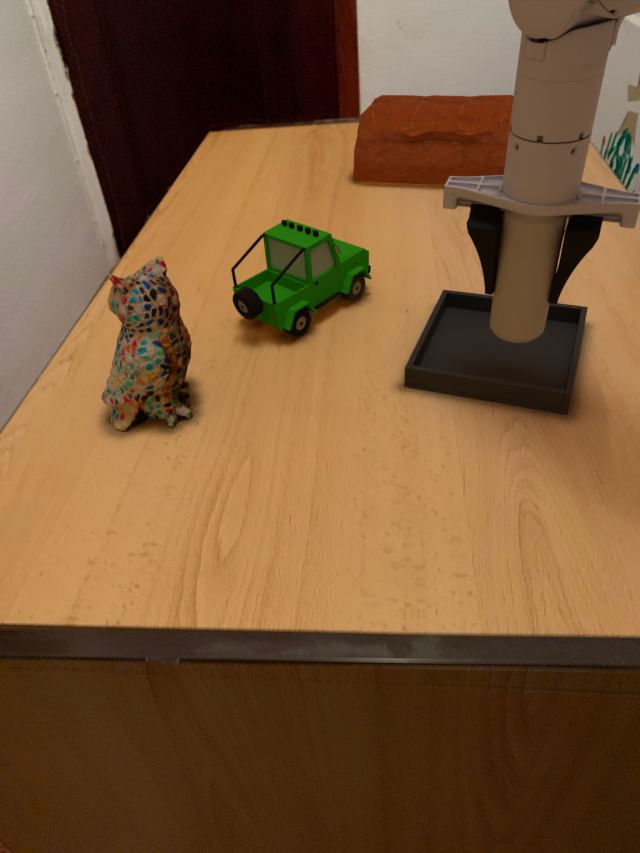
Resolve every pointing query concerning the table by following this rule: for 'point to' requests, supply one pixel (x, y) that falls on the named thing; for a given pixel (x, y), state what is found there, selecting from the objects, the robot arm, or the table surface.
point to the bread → (432, 138)
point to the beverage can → (525, 275)
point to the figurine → (148, 350)
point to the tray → (497, 355)
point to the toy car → (300, 276)
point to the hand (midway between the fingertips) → (522, 293)
